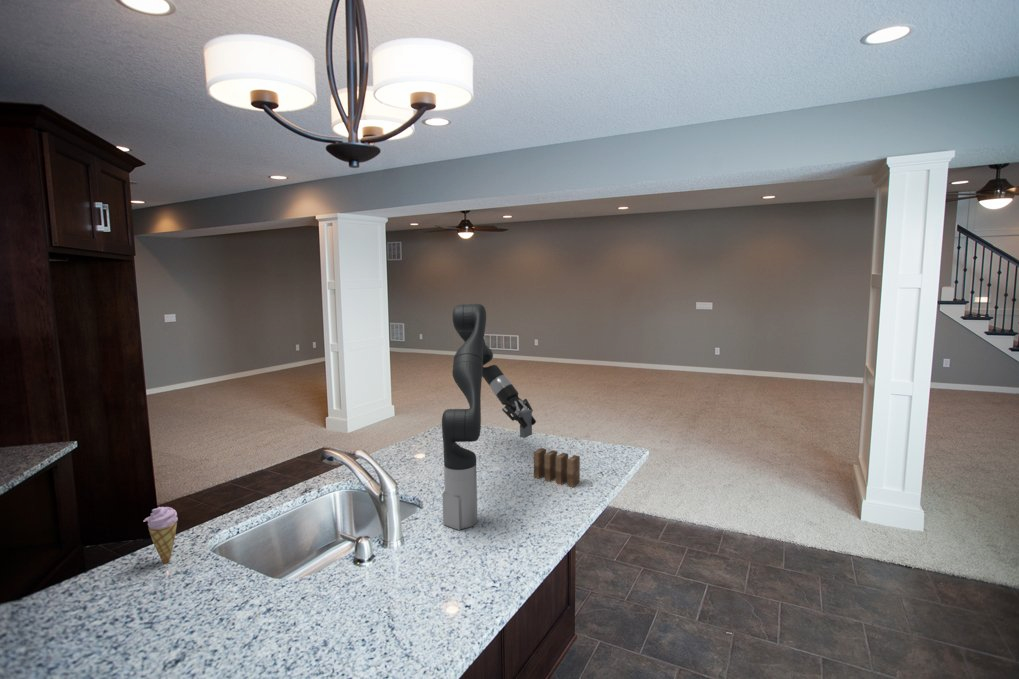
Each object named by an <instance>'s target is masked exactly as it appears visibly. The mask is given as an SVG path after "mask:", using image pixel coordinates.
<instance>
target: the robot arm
mask: <svg viewBox="0 0 1019 679" xmlns="http://www.w3.org/2000/svg"><path fill="white" fill-rule="evenodd" d="M452 324H453V327H454V330H455V331H456V333H457V334H458V335H459V337H460V338H461V339H462V340H463V342H464V343H463V344H462V345H461V346H460V347H459V348H458V349H457V351H456V352H455V354H454V357H453V362H452V363H453V364H452V372H451V373H452V377H453V380H454V383H455V384H456V385H457V387H458V388H459V390H460V391H461V392H462V394H463V395H464V396H465V399H466V401H467V402H468V407H469V408H447V409H445V410H444V411H443V413H442V416H441V431H442V432H441V434H442V444H443V445H442V446H443V470H444V472H443V474H444V479H443V480H444V492H442V494H441V495H442V524H443V525H444V526H446V527H450V528H452V529H455V530H458V531H460V530H462V529H467V528H471V527H473V526H475V525H476V524H477V523H478V488H477V487H478V484H477V481H478V480H477V478H478V477H477V471H478V470H477V455H476V453H475V452H474V451H472V450H470V449H467V448H465V447H462V446H461V445H459V444H458V443H459V442H461V443H462V442H463V443H468V442H469V443H470V442H476V441H478V440H479V439H480V436H481V430H482V414H481V413H482V412H481V411H482V407H481V406H482V405H481V403H482V402H481V400H482V399H481V398H482V397H481V396H482V394H481V392H482V381H483V379H484V380H485V382H486V383H487V385H489V387H490V389H491V391H492V392H493V394H494V395H495V396H496V398H497V400H498V401H499V402H500V404H501V405H502V406H503V407H502V411H503V414H505V415H506V416H507V417H508V418H509V419H510V420H511V421H512V422H513V421H516V422H518V424H519V426H520V425H521V427H523V428H526V427H527V426H528V424H527V423H526V421H525V420H524V419H523V418H522V417H521V415H520V412H521V411H524V410H527V409H529V410H532V412H533V411H534V410H533V408H532V406H531V404H530V403H529V400H528V399H527V398H524V399H522V398H520V397H519V392H518V390H517V389H516V388H515V386H514V385H513V384H512V382H511V381H510V379H509V378H508V377H507V376H506V375H505V374H504V372H502V370H501V369H500V368H499V366H498V365H496V364H491V365H489V366H486V365H487V364H488V363H489V362H491V361H492V359H493V358H494V353H493V351H492V349H491V348H490V347H489V346H488V345H487V343H486V341H485V332H486V327H487V326H486V325H487V310H486V308H485V306H484V305H483V304H481V303H469V304H458V305H456V306H454V307H453V309H452ZM484 366H485V367H484ZM536 423H537V420H536V419H535V418H534V415H532V426H533V425H535V424H536Z"/></svg>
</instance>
